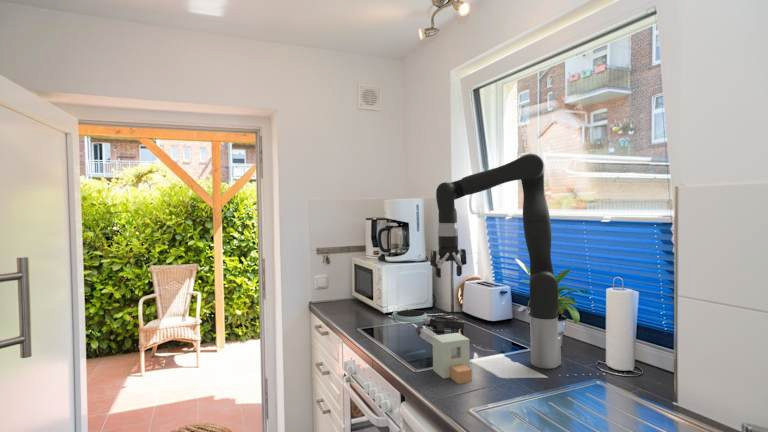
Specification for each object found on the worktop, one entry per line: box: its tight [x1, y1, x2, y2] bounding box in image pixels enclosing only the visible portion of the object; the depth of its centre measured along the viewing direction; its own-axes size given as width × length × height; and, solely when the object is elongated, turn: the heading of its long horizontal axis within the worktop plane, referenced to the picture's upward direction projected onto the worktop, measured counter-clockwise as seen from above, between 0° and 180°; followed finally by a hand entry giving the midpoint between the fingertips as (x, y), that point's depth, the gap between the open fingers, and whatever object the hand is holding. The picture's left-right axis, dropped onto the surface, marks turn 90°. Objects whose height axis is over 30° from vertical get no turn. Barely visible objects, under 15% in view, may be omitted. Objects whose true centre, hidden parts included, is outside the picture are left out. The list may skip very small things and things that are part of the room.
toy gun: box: [423, 315, 466, 334], centre depth 202 cm, size 5×21×15 cm
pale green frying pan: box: [391, 309, 428, 324], centre depth 226 cm, size 18×4×25 cm
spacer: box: [450, 364, 473, 385], centre depth 142 cm, size 5×5×4 cm
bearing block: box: [432, 332, 471, 379], centre depth 148 cm, size 10×8×12 cm
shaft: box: [415, 324, 458, 357], centre depth 160 cm, size 4×28×4 cm, turn 19°
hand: (448, 276), depth 166 cm, fingers open, 8 cm apart
